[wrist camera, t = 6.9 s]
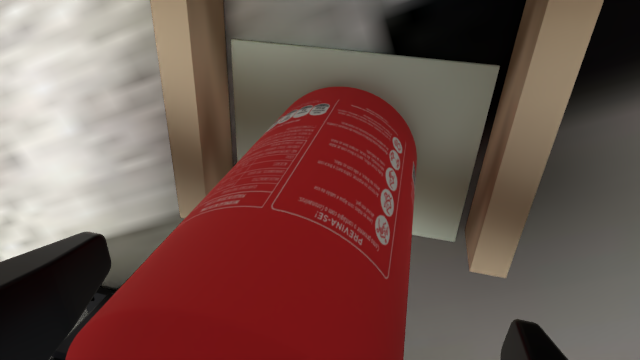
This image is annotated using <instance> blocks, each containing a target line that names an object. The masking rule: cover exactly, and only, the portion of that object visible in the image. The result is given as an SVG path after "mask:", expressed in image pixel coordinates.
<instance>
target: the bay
mask: <svg viewBox="0 0 640 360" xmlns="http://www.w3.org/2000/svg"><path fill="white" fill-rule="evenodd" d="M603 1H604V0H526V4H525V7H524V11H523V15H522V18H521V22H520V26H519V30H518V33H517V37H516V41H515V45H514V48H513V52H512V56H511V59H510V63H509V67H508V71H507V74H506V78H505V82H504V86H503V89H502V93H501V97H500V100H499V104H498V108H497V112H496V115H495V119H494V123H493V127H492V130H491V134H490V138H489V141H488V145H487V149H486V153H485V156H484V160H483V164H482V168H481V171H480V175H479V179H478V183H477V186H476V190H475V194H474V197H473V201H472V205H471V209H470V212H469V216H468V220H467V224H466V227H465V238H466V246H467V254H468V263H469V271H470V272H475V273H481V274H486V275H491V276H497V277H502V278H506V277H507V274H508V271H509V268H510V265H511V263H512V260H513V257H514V254H515V251H516V248H517V245H518V243H519V240H520V237H521V234H522V231H523V228H524V226H525V223H526V220H527V217H528V214H529V211H530V209H531V206H532V203H533V200H534V197H535V194H536V191H537V189H538V186H539V183H540V180H541V177H542V174H543V172H544V169H545V166H546V163H547V160H548V157H549V155H550V152H551V149H552V146H553V143H554V140H555V137H556V135H557V132H558V129H559V126H560V123H561V120H562V118H563V115H564V112H565V109H566V106H567V103H568V101H569V98H570V95H571V92H572V89H573V86H574V84H575V81H576V78H577V75H578V72H579V69H580V66H581V64H582V61H583V58H584V55H585V52H586V49H587V47H588V44H589V41H590V38H591V35H592V32H593V30H594V27H595V24H596V21H597V18H598V15H599V12H600V10H601V7H602V4H603ZM150 3H151V11H152V18H153V25H154V32H155V39H156V47H157V54H158V61H159V68H160V76H161V83H162V90H163V97H164V104H165V112H166V119H167V126H168V133H169V140H170V148H171V155H172V162H173V169H174V176H175V184H176V191H177V198H178V205H179V212H180V218H186V217H187V216H188V215H189V214H190V213H191V211H192V210H193V209H194V208H195V207H196V206H197V205H198V204H199V203H200V202H201V201H202V200H203V199H204V198H205V197H206V195H207V194H208V193H209V192H210V191H211V190H212V189H213V188H214V187H215V186H216V185H217V184H218V183H219V182H220V180H221V179H222V178H223V177H224V176H225V175H226V174H227V173H228V172H229V171H230V170H231V169H232V168H233V158H232V141H231V124H230V108H229V91H228V74H227V57H226V41H225V24H224V7H223V0H150ZM231 54H232V72H233V91H234V109H235V128H236V147H237V162H238V161H239V160H240V159H241V158H242V157H243V156H244V155H245V154H246V153H247V152H248V151H249V149H250V148H251V147H252V146H253V145H254V144H255V143H256V142H257V141H258V140H259V139H260V138H261V137H262V136H263V135H264V133H265V132H266V131H267V130H268V129H269V128H270V127H271V126H272V125H273V124H274V123H275V122H276V121H277V120H278V118H279V117H280V116H281V115H282V114H283V113H284V112H285V111H286V110H287V109H288V108H289V107H290V106H291V105H292V104H293V103H294V102H295V101H297V100H298V99H299V98H301V97H302V96H304V95H306V94H308V93H310V92H313V91H315V90H318V89H322V88H327V87H352V88H357V89H361V90H364V91H367V92H369V93H372V94H374V95H376V96H378V97H380V98H381V99H383V100H384V101H386V102H387V103H389V104H390V105H391V106H392V107H393V108H394V109H395V110H396V111H397V112H398V113H399V114H400V115H401V116H402V118H403V119H404V120H405V122H406V123H407V125H408V127H409V129H410V131H411V133H412V135H413V138H414V141H415V146H416V152H417V166H416V181H415V196H414V210H413V225H412V235H416V236H422V237H428V238H434V239H439V240H445V241H451V242H455V238H456V234H457V231H458V227H459V223H460V219H461V215H462V211H463V207H464V203H465V200H466V196H467V192H468V188H469V184H470V180H471V176H472V172H473V169H474V165H475V161H476V157H477V153H478V149H479V145H480V141H481V138H482V134H483V130H484V126H485V122H486V118H487V114H488V110H489V107H490V103H491V99H492V95H493V91H494V87H495V83H496V79H497V76H498V72H499V68H500V66H499V65H491V64H481V63H470V62H460V61H450V60H440V59H430V58H420V57H410V56H400V55H390V54H380V53H370V52H360V51H350V50H340V49H329V48H319V47H309V46H299V45H289V44H279V43H269V42H259V41H249V40H239V39H232V40H231Z"/></svg>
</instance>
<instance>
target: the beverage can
mask: <svg viewBox="0 0 640 360" xmlns="http://www.w3.org/2000/svg"><path fill="white" fill-rule="evenodd" d="M416 166H417V152H416V146H415V141H414V138H413V135H412V133H411V131H410V129H409V127H408V125H407V123H406V122H405V120H404V119H403V118H402V116H401V115H400V114H399V113H398V112H397V111H396V110H395V109H394V108H393V107H392V106H391V105H390V104H389V103H387V102H386V101H384V100H383V99H381V98H380V97H378V96H376V95H374V94H372V93H369V92H367V91H364V90H361V89H357V88H352V87H327V88H322V89H318V90H315V91H313V92H310V93H308V94H306V95H304V96H302V97H301V98H299V99H298V100H297V101H295V102H294V103H293V104H292V105H291V106H290V107H289V108H288V109H287V110H286V111H285V112H284V113H283V114H282V115H281V116H280V117H279V118H278V120H277V121H276V122H275V123H274V124H273V125H272V126H271V127H270V128H269V129H268V130H267V131H266V132H265V133H264V135H263V136H262V137H261V138H260V139H259V140H258V141H257V142H256V143H255V144H254V145H253V146H252V147H251V148H250V149H249V151H248V152H247V153H246V154H245V155H244V156H243V157H242V158H241V159H240V160H239V161H238V162H237V163H236V164H235V166H234V167H233V168H232V169H231V170H230V171H229V172H228V173H227V174H226V175H225V176H224V177H223V178H222V179H221V180H220V182H219V183H218V184H217V185H216V186H215V187H214V188H213V189H212V190H211V191H210V192H209V193H208V194H207V195H206V197H205V198H204V199H203V200H202V201H201V202H200V203H199V204H198V205H197V206H196V207H195V208H194V209H193V210H192V211H191V213H190V214H189V215H188V216H187V217H186V218H185V219H184V220H183V221H182V222H181V223H180V224H179V225H178V226H177V228H176V229H175V230H174V231H173V232H172V233H171V234H170V235H169V236H168V237H167V238H166V239H165V240H164V241H163V242H162V244H161V245H160V246H159V247H158V248H157V249H156V250H155V251H154V252H153V253H152V254H151V255H150V256H149V257H148V258H147V260H146V261H145V262H144V263H143V264H142V265H141V266H140V267H139V268H138V269H137V270H136V271H135V272H134V273H133V275H132V276H131V277H130V278H129V279H128V280H127V281H126V282H125V283H124V284H123V285H122V286H121V287H120V288H119V289H118V291H117V292H116V293H115V294H114V295H113V296H112V297H111V298H110V299H109V300H108V301H107V302H106V303H105V304H104V306H103V307H102V308H101V309H100V310H99V311H98V312H97V313H96V314H95V315H94V316H93V317H92V318H91V319H90V320H89V322H88V323H87V324H86V325H85V326H84V327H83V328H82V329H81V330H80V331H79V333H78V334H77V335H76V337H75V338H74V340H73V341H72V343H71V345H70V347H69V349H68V352H67V355H66V359H65V360H403V356H404V341H405V327H406V312H407V298H408V283H409V269H410V254H411V239H412V225H413V210H414V196H415V181H416Z"/></svg>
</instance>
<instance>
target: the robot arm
mask: <svg viewBox="0 0 640 360" xmlns="http://www.w3.org/2000/svg"><path fill="white" fill-rule="evenodd" d="M110 268H111V258H110V255H109V251H108V247H107V243H106V239H105V237H104V236H103V235H101V234H97V233H92V232H82V233H79V234H77V235H74V236H71V237H68V238H66V239H63V240H60V241H57V242H55V243H52V244H49V245H46V246H44V247H41V248H38V249H35V250H33V251H30V252H27V253H24V254H22V255H19V256H16V257H13V258H10V259H8V260H5V261H2V262H0V360H49V359H50V360H65V359H66V355H67V352H68V349H69V347H70V345H71V343H72V341H73V340H74V338H75V337H76V335H77V334H78V333H79V331H80V330H81V329H82V328H83V327H84V326H85V325H86V324H87V323H88V322H89V320H90V319H91V318H92V317H93V316H94V315H95V314H96V313H97V312H98V311H99V310H100V309H101V308H102V307H103V306H104V304H105V303H106V302H107V301H108V300H109V299H110V298H111V297H112V296H113V295H114V294H115V293H116V292H117V291H112V290H108V289H104V288H99V287H100V285H101V284H102V282H103V281H104V279H105V278H106V276H107V274H108V273H109V271H110ZM86 307H87V311H88V315H87V316H86V317H85V318H84V319H83V320H82V321H81V322H80V323H79V324H78V325H77V326H76V327H75V329H74V330H73V331H72V332H71V333H70V331H71V330H72V329H73V327H74V326H75V324H76V323H77V321H78V320H79V318H80V317H81V315H82V314H83V312H84V310H85V309H86ZM69 333H70V334H69ZM68 334H69V335H68ZM51 356H52V357H51ZM501 360H568V359H567V358H566V357H565V355H564V354H563V353H562V352H561V351H560V350H559V348H558V347H557V346H556V345H555V344H554V342H553V341H552V340H551V339H550V338H549V337H548V335H547V334H546V333H545V332H544V331H543V329H542V328H541V327H540V326H539V325H538V324H536V323H534V322H529V321H524V320H519V319H516V320H514V321H513V322H512V323H511V325H510V328H509V330H508V333H507V335H506V338H505V341H504V343H503V346H502V349H501Z"/></svg>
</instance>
